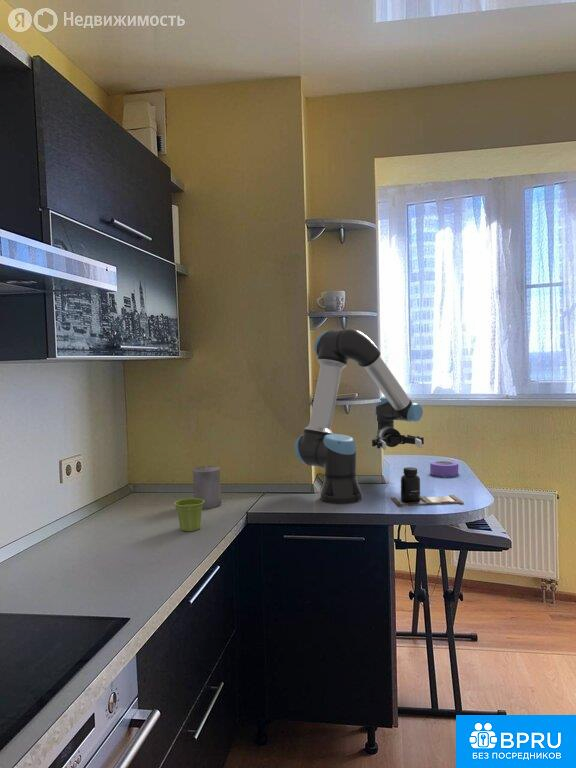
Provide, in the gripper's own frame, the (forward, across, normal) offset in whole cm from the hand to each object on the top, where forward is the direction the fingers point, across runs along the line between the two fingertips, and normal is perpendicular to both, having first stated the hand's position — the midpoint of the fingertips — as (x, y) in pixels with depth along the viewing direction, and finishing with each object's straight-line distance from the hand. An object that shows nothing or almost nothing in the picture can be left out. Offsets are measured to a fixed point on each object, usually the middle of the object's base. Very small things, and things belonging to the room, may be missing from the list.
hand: (402, 445), depth 218 cm
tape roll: (-32, -26, -20) cm, 45 cm away
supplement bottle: (+11, 0, -19) cm, 22 cm away
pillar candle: (+4, +73, -18) cm, 76 cm away
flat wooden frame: (+11, -5, -19) cm, 22 cm away
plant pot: (+32, +76, -18) cm, 85 cm away
